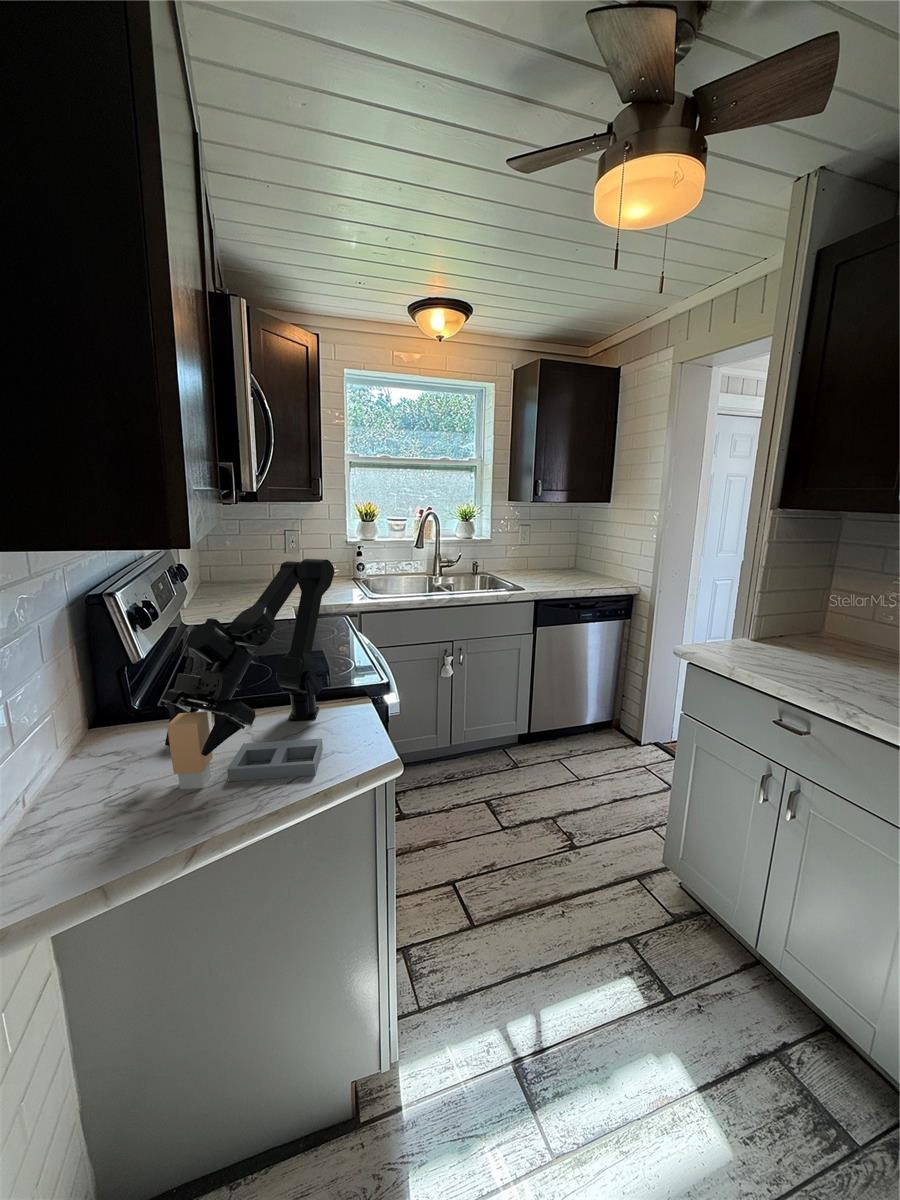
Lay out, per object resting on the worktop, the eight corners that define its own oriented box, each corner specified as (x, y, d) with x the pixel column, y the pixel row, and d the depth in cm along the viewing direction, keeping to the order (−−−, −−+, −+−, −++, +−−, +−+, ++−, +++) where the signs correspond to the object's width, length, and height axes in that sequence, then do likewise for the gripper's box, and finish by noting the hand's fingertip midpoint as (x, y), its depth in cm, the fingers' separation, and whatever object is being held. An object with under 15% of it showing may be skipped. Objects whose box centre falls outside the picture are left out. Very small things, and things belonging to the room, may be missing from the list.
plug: (187, 776, 93) (179, 713, 90) (214, 774, 94) (207, 711, 91) (176, 791, 88) (166, 725, 86) (204, 789, 89) (196, 723, 86)
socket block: (244, 754, 101) (243, 743, 100) (322, 749, 102) (322, 738, 102) (228, 781, 91) (227, 769, 91) (315, 775, 93) (314, 763, 92)
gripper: (164, 649, 93) (115, 726, 85) (237, 660, 86) (191, 745, 78) (203, 674, 102) (161, 746, 94) (272, 686, 95) (234, 765, 87)
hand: (185, 750), depth 88 cm, fingers open, 9 cm apart
